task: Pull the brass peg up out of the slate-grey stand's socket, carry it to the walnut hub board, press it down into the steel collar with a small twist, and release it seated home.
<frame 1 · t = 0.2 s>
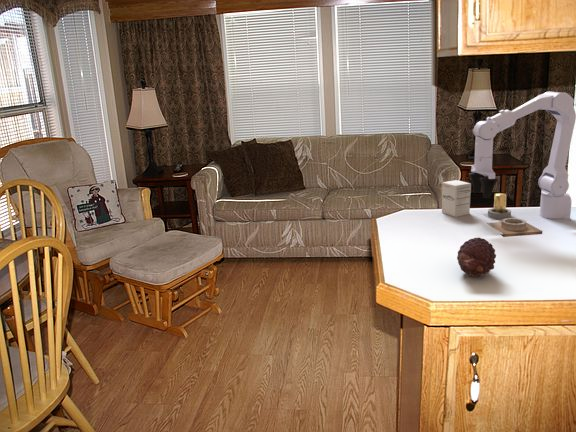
hand: (481, 195, 192), 10 cm above the table, fingers open, 7 cm apart
supplement box: (455, 216, 205), on the table
spline stand: (499, 218, 198), on the table
hub board: (513, 229, 185), on the table
pine cone: (475, 273, 150), on the table
brass peg: (499, 216, 198), point 1 cm above the table, touching spline stand
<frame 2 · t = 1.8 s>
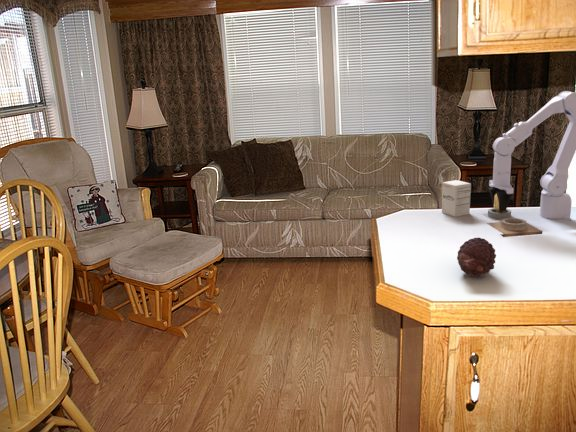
hand: (499, 209, 197), 4 cm above the table, fingers closed on brass peg, 4 cm apart
brass peg: (499, 216, 198), point 1 cm above the table, touching gripper, spline stand
everything else where it was.
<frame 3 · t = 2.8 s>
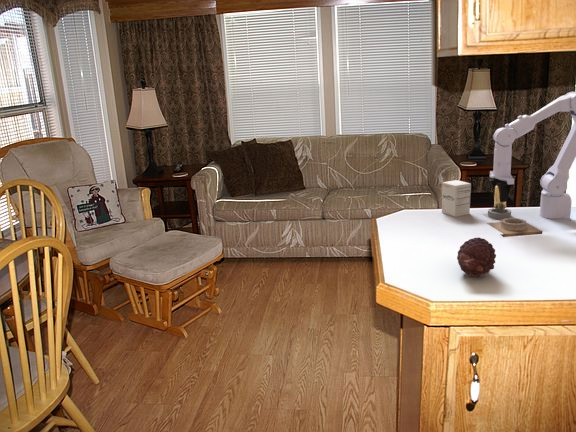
hand: (500, 200, 196), 7 cm above the table, fingers closed on brass peg, 4 cm apart
brass peg: (499, 207, 197), point 4 cm above the table, touching gripper
everything else where it was.
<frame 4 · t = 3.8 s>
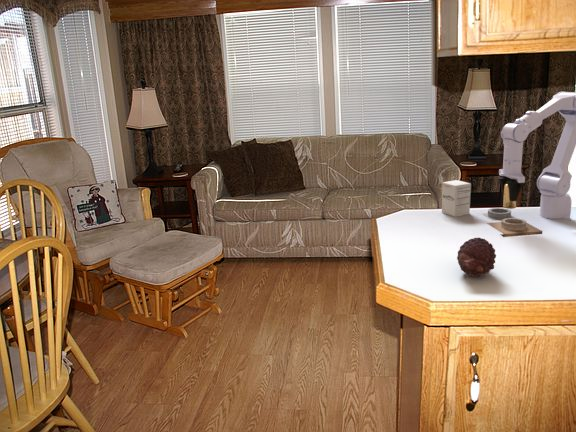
hand: (510, 199, 187), 9 cm above the table, fingers closed on brass peg, 4 cm apart
brass peg: (509, 207, 188), point 7 cm above the table, touching gripper
everything else where it was.
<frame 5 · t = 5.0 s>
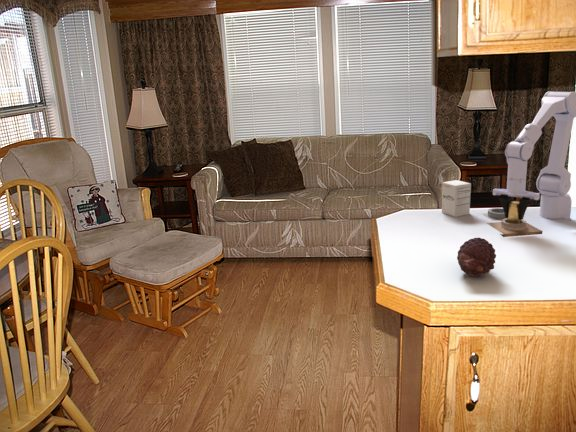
hand: (514, 218, 184), 4 cm above the table, fingers closed on brass peg, 4 cm apart
brass peg: (513, 226, 185), point 1 cm above the table, touching gripper
everything else where it was.
when the fingers open (4 cm above the table, at t = 5.8 s): brass peg stays where it is, resting on hub board.
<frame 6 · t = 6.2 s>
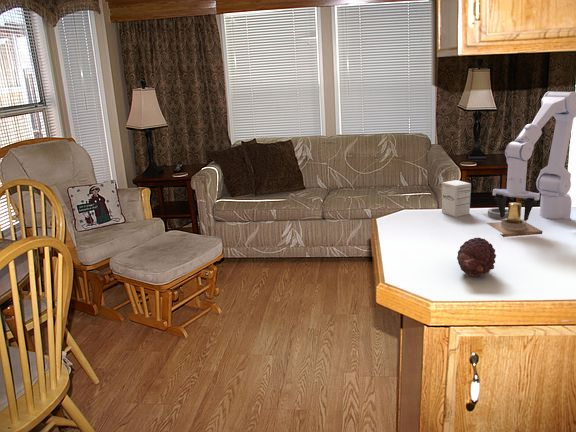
hand: (514, 218, 184), 4 cm above the table, fingers open, 7 cm apart
brass peg: (513, 227, 185), point 1 cm above the table, touching hub board
everything else where it was.
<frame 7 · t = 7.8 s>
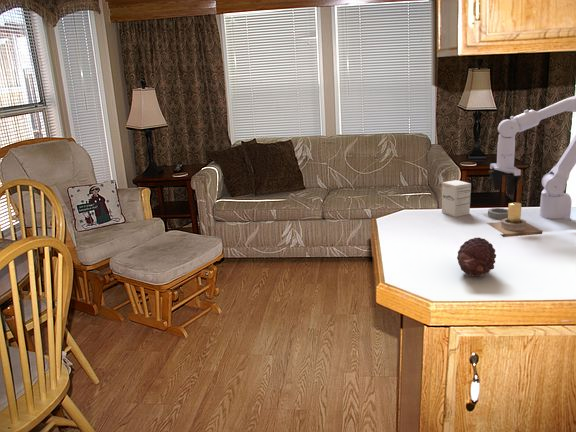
hand: (503, 191, 198), 9 cm above the table, fingers open, 7 cm apart
nothing on the table moved.
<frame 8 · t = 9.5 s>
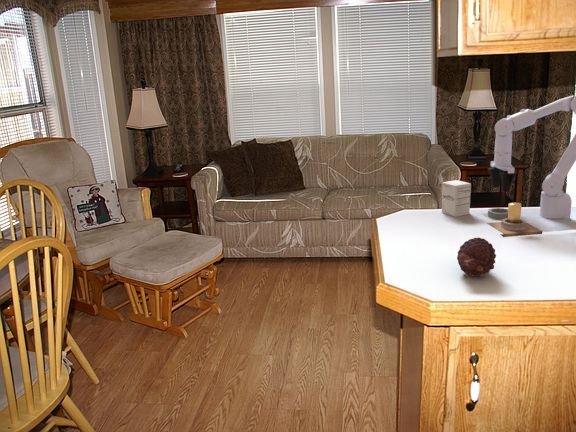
hand: (500, 189, 202), 9 cm above the table, fingers open, 7 cm apart
nothing on the table moved.
at the end: brass peg 0.0 cm off-centre on the hub board, point 1.0 cm above the hub board's base; brass peg tilted 0°; the gripper is holding nothing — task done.
